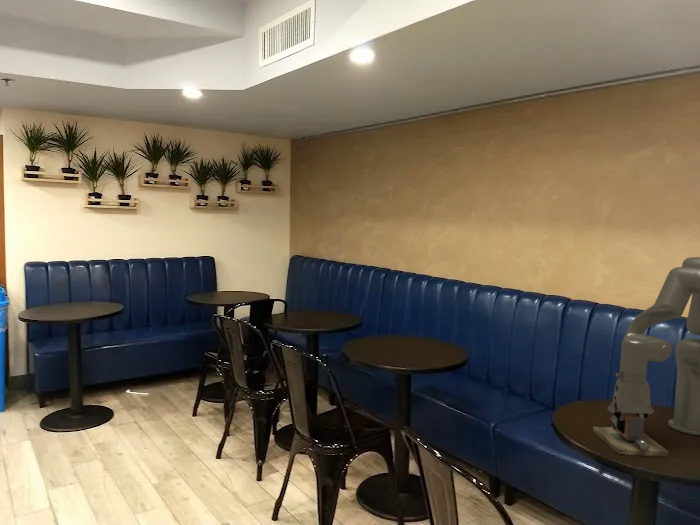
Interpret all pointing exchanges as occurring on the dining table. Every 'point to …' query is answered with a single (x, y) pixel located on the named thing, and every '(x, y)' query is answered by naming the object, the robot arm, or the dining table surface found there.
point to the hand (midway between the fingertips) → (629, 431)
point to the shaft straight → (641, 443)
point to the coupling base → (628, 443)
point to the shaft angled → (614, 419)
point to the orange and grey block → (632, 426)
